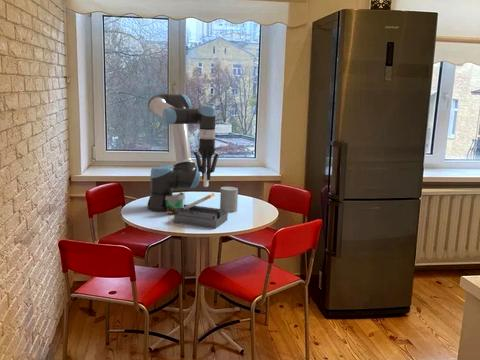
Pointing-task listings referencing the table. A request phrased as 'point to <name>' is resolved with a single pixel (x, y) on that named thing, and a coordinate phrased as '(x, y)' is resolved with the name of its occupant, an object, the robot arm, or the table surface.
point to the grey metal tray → (201, 216)
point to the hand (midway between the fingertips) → (206, 186)
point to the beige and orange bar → (198, 202)
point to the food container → (174, 203)
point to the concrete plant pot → (229, 199)
